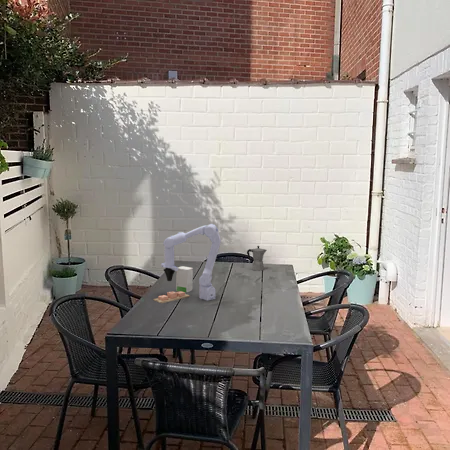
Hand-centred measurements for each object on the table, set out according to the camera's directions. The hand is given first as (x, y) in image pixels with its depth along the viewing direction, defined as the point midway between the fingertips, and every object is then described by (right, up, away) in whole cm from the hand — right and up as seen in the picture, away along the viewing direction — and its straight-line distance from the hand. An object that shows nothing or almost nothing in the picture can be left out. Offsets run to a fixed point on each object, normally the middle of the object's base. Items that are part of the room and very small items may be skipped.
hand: (169, 280), depth 278 cm
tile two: (+2, -10, -4) cm, 11 cm away
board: (+2, -11, -4) cm, 12 cm away
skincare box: (+8, -9, +14) cm, 18 cm away
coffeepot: (+56, -1, +77) cm, 96 cm away
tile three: (-3, -11, -8) cm, 14 cm away
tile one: (+6, -10, 0) cm, 12 cm away
